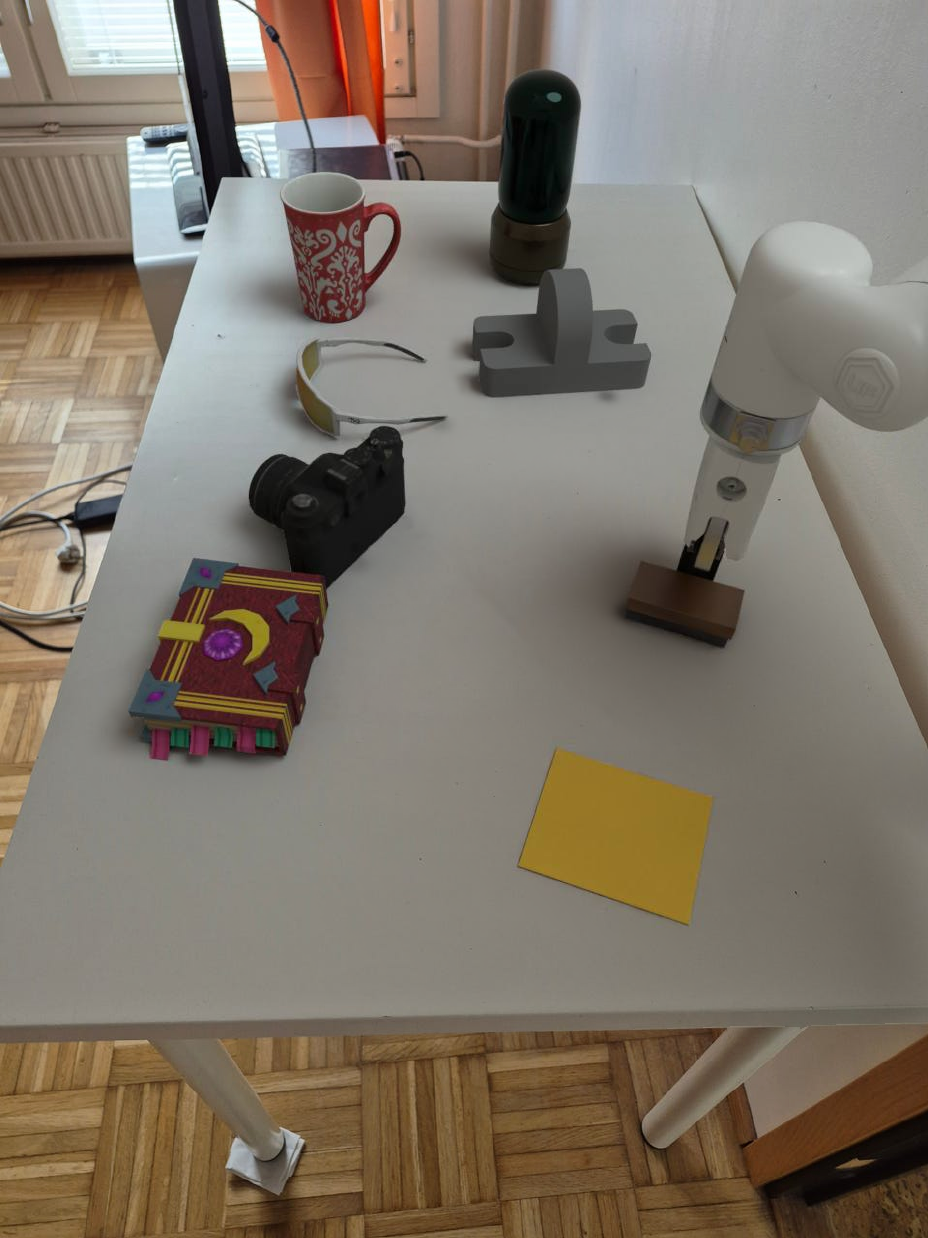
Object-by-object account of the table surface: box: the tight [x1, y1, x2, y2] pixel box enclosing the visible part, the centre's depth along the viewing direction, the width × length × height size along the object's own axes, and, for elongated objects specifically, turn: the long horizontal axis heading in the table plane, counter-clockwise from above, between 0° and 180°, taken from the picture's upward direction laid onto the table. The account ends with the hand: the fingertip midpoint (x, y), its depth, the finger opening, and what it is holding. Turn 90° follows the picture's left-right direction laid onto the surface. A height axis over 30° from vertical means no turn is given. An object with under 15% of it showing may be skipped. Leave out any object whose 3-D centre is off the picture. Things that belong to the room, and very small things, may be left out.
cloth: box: [517, 747, 714, 926], centre depth 63 cm, size 12×10×1 cm
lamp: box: [488, 68, 582, 285], centre depth 102 cm, size 10×10×22 cm
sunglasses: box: [295, 336, 450, 437], centre depth 92 cm, size 14×15×5 cm
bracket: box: [471, 267, 652, 398], centre depth 94 cm, size 10×18×11 cm, turn 98°
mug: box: [279, 171, 402, 324], centre depth 99 cm, size 13×9×14 cm
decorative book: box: [127, 557, 329, 761], centre depth 69 cm, size 11×16×5 cm
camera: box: [248, 425, 407, 590], centre depth 77 cm, size 14×11×10 cm
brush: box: [624, 559, 746, 649], centre depth 75 cm, size 9×4×3 cm, turn 70°
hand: (694, 574), depth 78 cm, fingers closed
